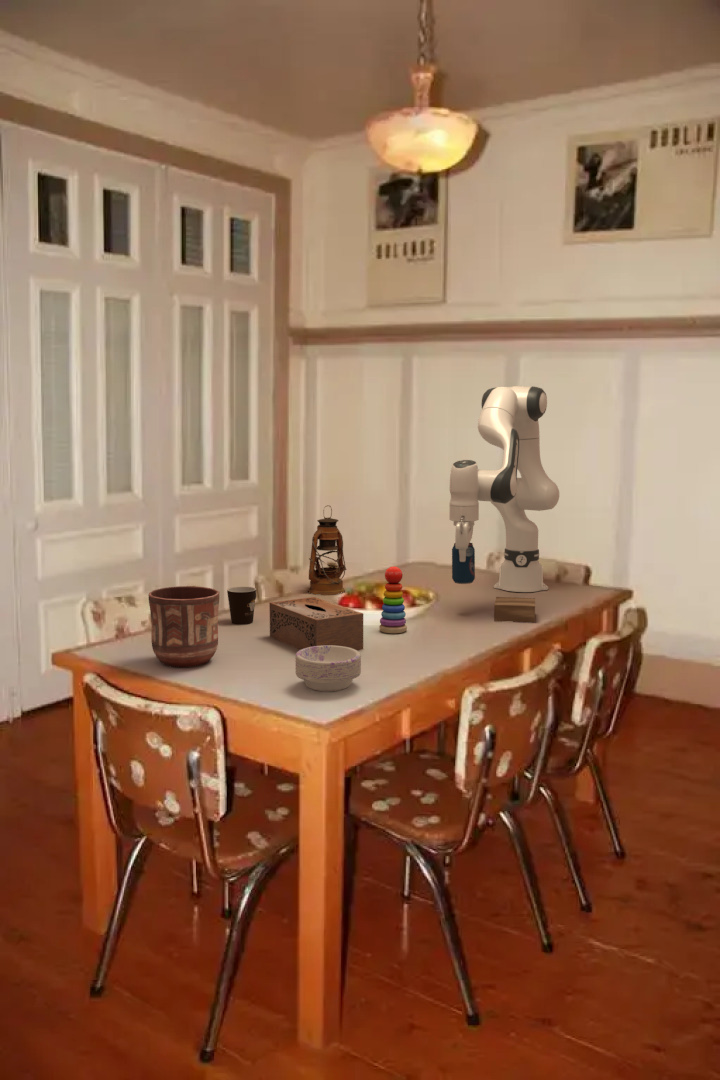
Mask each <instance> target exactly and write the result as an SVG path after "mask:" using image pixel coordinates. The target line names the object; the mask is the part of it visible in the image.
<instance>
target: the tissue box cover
mask: <svg viewBox="0 0 720 1080" xmlns="http://www.w3.org/2000/svg"><path fill="white" fill-rule="evenodd" d="M269 637H270V638H272V639H274V640H277V641H279V642H281V643H284V644H286V645H288V646H291V647H293V648H296V649H297V650H301V649H304V648H308V647H313V646H323V645H333V646H343V647H349V648H352V649H355V650H357V651H360V650H364V613H363V612H360V611H357V610H354V609H351V608H348V607H345V606H342V605H339V604H336V603H334V602H330V601H327V600H325V599H320V598H318V597H316V596H311V597H303V598H296V599H288V600H281V601H272V602H269Z"/></svg>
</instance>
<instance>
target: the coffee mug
mask: <svg viewBox="0 0 720 1080" xmlns="http://www.w3.org/2000/svg"><path fill="white" fill-rule="evenodd" d="M226 590H227V592H226V593H227V599H228V606H229V607H228V608H229V612H230V613H229V614H230V622H231V624H233V625H236V626H237V625H238V626H240V625H241V626H242V625H243V626H244V625H250V624H253V623H254V616H255V615H254V614H255V613H254V612H255V606H256V600H257V588H255V587H252V586H233V587H229V588H227V589H226Z"/></svg>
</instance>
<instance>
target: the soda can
mask: <svg viewBox="0 0 720 1080" xmlns="http://www.w3.org/2000/svg"><path fill="white" fill-rule="evenodd" d="M475 553H476V550H475V547H474V544H473V542H470V543H469V546H468V548H467V549H466V561H465V562H460V556H459V549H456V547H455V543H453V546H452V548H451V561H452V562H451V579H452V581H453V582H454V583H455V584H458V585H468V584H469V585H470V584H472V583H473V582H474V581H475V579H476V571H475V570H476V561H475V560H476V559H475V558H476V554H475Z"/></svg>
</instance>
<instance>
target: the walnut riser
mask: <svg viewBox="0 0 720 1080" xmlns="http://www.w3.org/2000/svg"><path fill="white" fill-rule="evenodd" d="M493 611H494V613H493V614H494V615H493V620H494V621H493V622H502V621H513V622H512V623H526V622H532V623H533V624H535V622H536V621H535V618H536V616H535V615H536V598H532V597H510V596H509V597H507V596H495V601H494V609H493ZM532 623H531V624H532Z"/></svg>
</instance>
